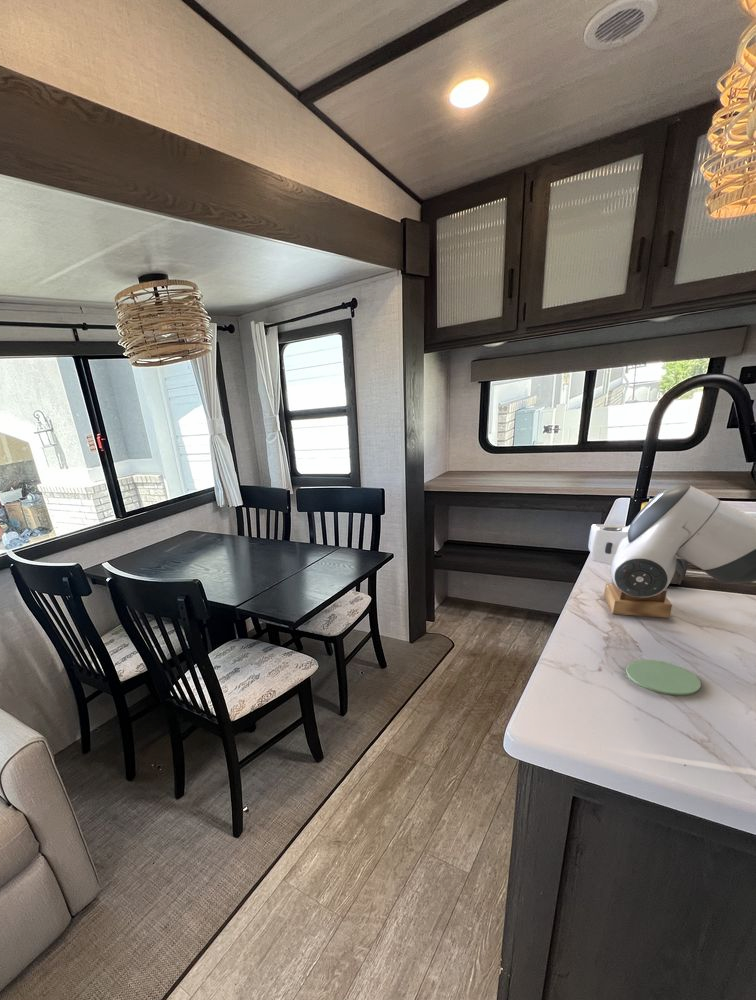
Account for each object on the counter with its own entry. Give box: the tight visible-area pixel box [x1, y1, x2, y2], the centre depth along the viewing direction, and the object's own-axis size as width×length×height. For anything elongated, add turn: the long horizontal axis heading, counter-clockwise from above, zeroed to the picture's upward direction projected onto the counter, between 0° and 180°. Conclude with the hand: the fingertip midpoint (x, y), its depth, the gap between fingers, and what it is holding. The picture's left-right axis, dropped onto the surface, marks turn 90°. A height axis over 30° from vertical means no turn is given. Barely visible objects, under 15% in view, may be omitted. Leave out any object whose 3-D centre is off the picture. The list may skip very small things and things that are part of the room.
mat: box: [625, 659, 702, 696], centre depth 78 cm, size 10×10×1 cm
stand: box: [603, 581, 673, 619], centre depth 100 cm, size 10×10×6 cm
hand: (651, 530), depth 95 cm, fingers closed on yellow cylinder, 5 cm apart
